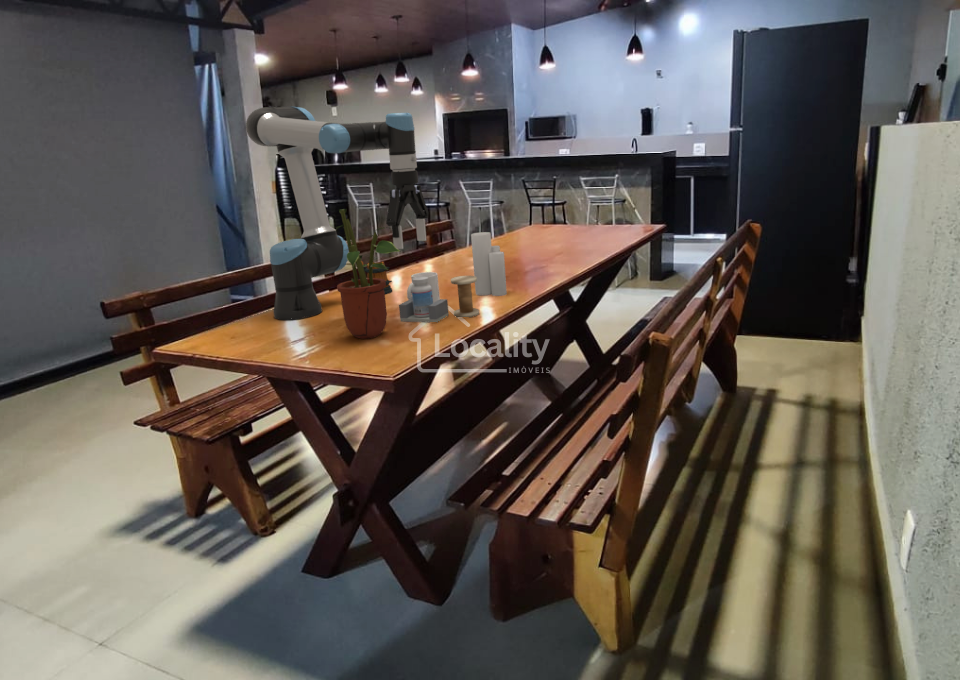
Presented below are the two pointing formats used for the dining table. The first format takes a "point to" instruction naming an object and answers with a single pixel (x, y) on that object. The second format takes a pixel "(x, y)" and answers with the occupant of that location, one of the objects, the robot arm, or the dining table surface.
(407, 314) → the notch board
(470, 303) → the wooden thread spool
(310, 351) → the dining table surface
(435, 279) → the mug
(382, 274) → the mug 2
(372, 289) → the potted plant
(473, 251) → the vase
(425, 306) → the pill bottle
